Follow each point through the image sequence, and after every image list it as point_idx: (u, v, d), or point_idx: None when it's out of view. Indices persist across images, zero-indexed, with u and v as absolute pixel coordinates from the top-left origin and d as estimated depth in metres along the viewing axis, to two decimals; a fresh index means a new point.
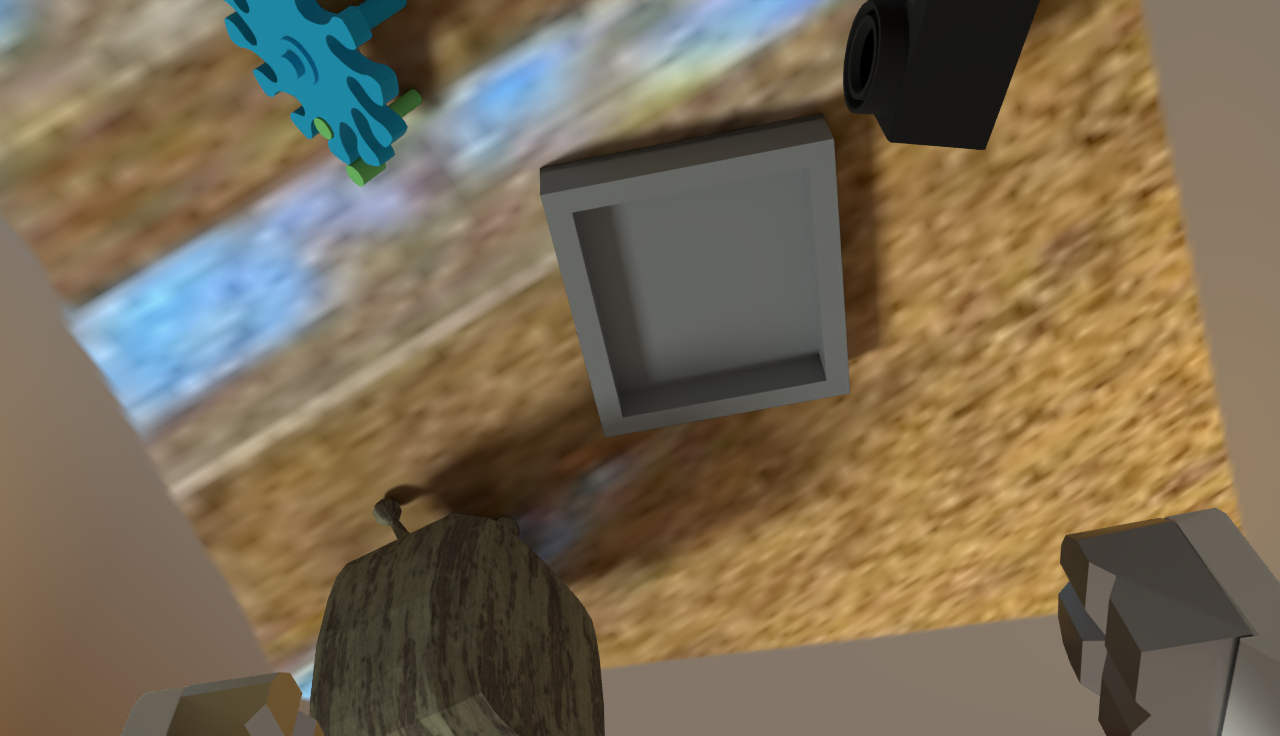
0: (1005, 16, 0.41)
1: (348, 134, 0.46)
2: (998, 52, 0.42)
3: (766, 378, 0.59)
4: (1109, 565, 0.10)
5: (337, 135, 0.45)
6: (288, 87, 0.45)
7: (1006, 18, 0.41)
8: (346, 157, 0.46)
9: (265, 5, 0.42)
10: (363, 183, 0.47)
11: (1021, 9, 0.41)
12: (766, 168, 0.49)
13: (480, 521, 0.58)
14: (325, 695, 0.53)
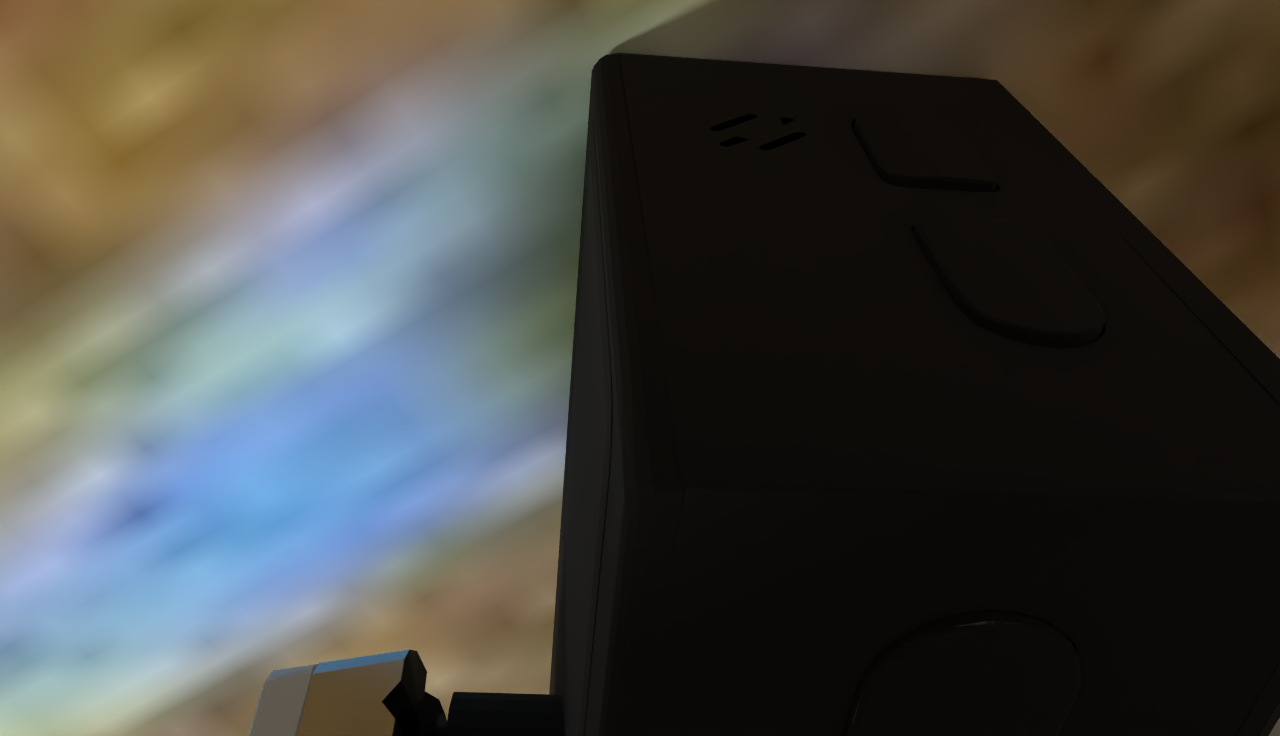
0: None
1: None
2: None
3: None
4: None
5: None
6: None
7: None
8: None
9: None
10: None
11: None
12: None
13: None
14: None
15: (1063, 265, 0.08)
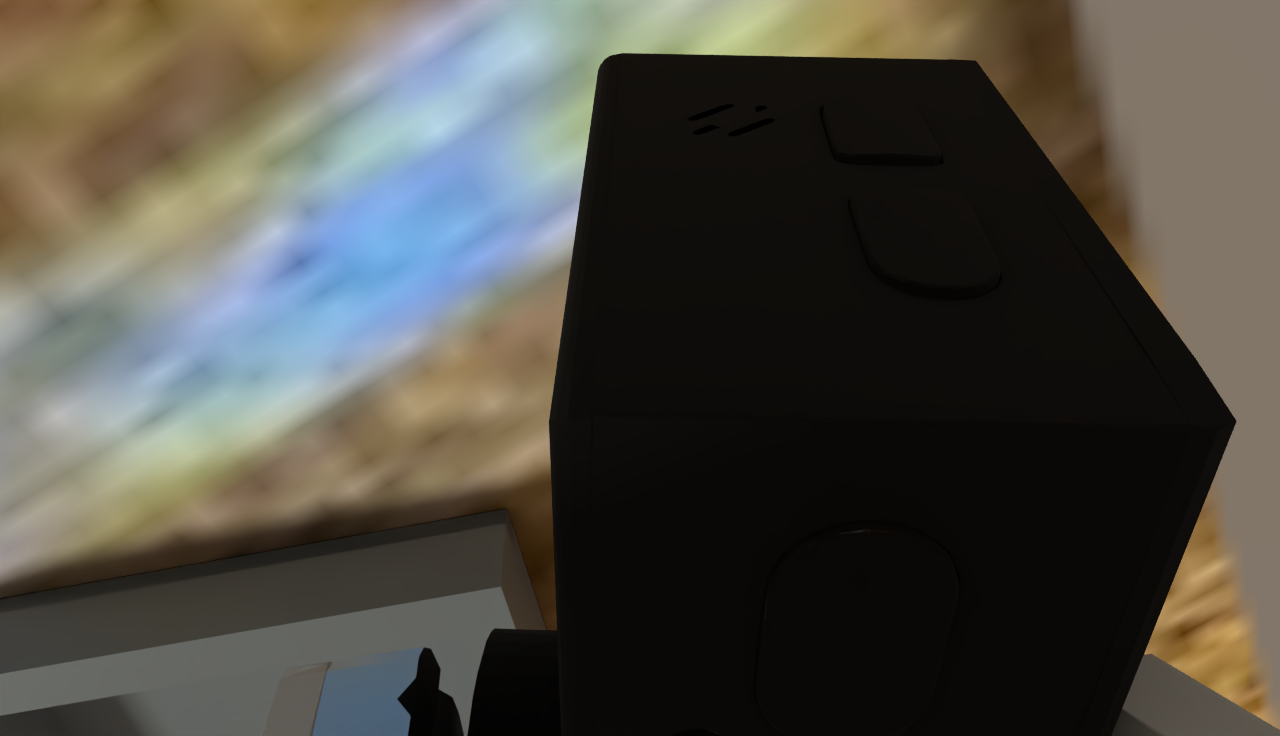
0: None
1: None
2: None
3: None
4: None
5: None
6: None
7: None
8: None
9: None
10: None
11: None
12: (367, 640, 0.23)
13: None
14: None
15: (977, 229, 0.09)
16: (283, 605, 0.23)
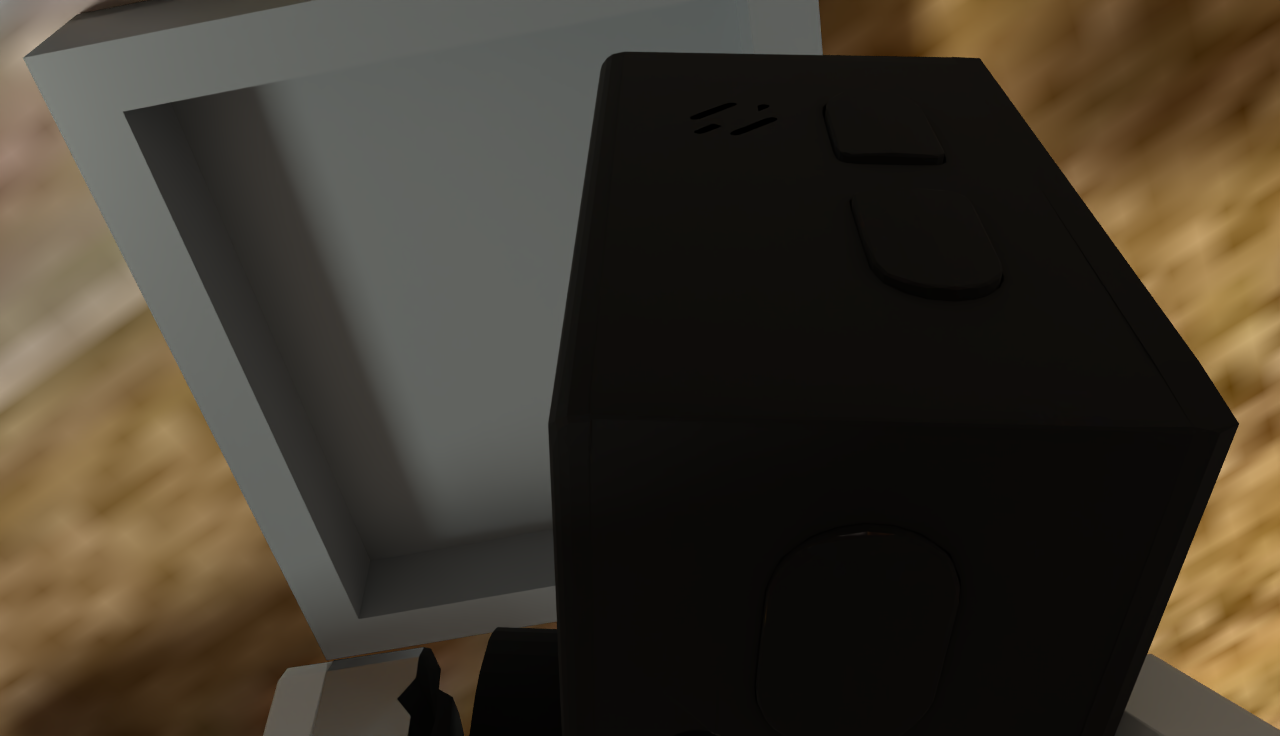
0: None
1: None
2: None
3: None
4: None
5: None
6: None
7: None
8: None
9: None
10: None
11: None
12: None
13: None
14: None
15: (979, 229, 0.09)
16: None
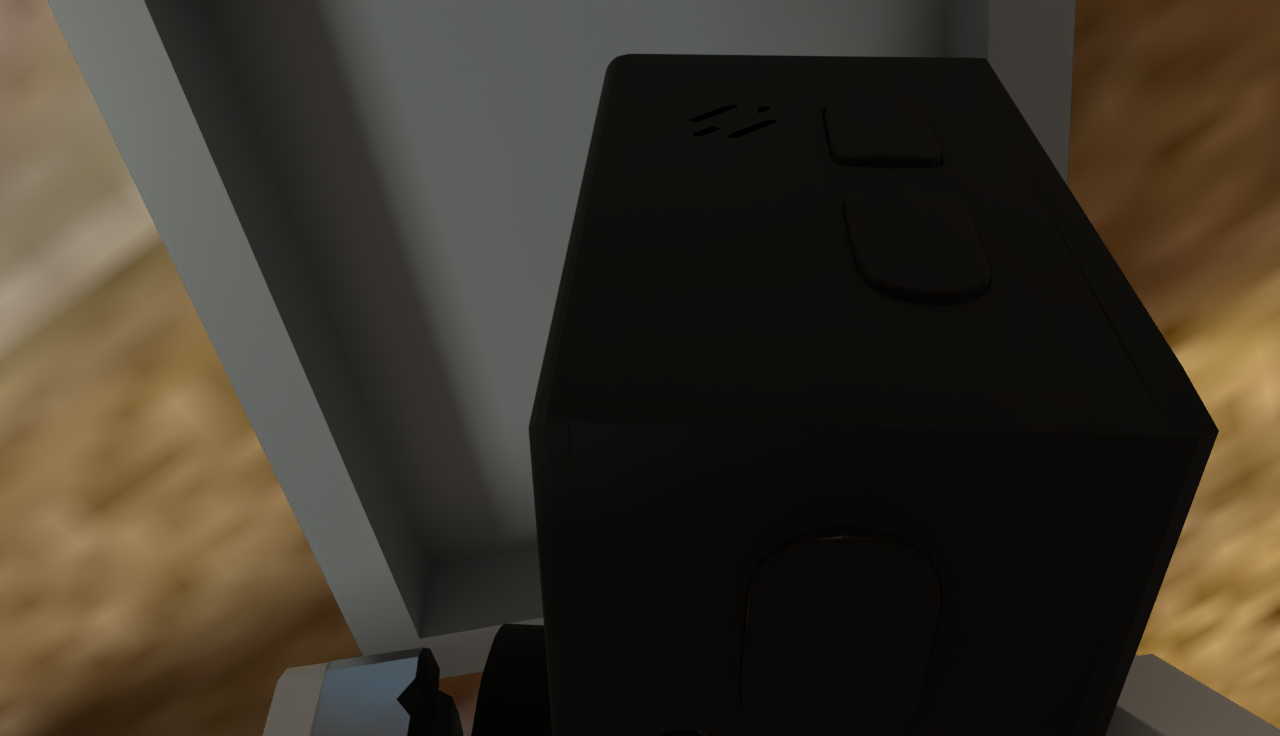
0: None
1: None
2: None
3: None
4: None
5: None
6: None
7: None
8: None
9: None
10: None
11: None
12: None
13: None
14: None
15: (970, 232, 0.09)
16: None
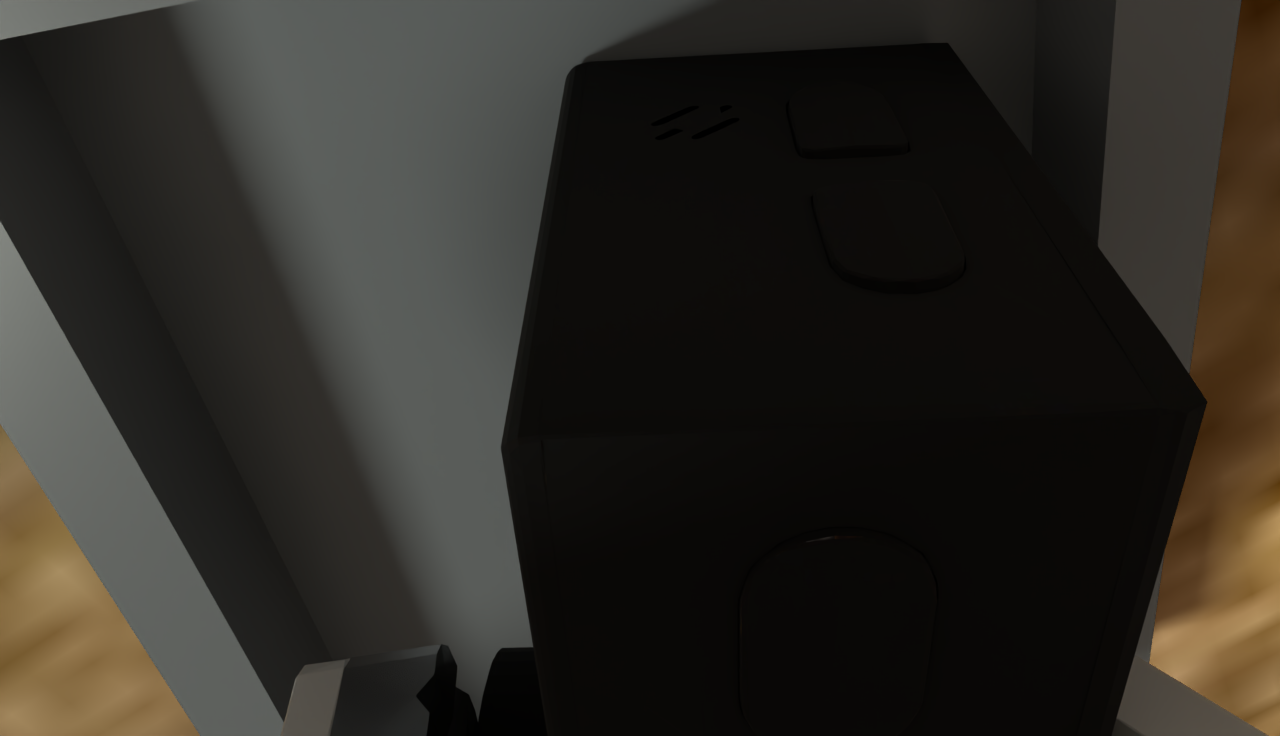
0: None
1: None
2: None
3: None
4: None
5: None
6: None
7: None
8: None
9: None
10: None
11: None
12: None
13: None
14: None
15: (941, 217, 0.08)
16: None
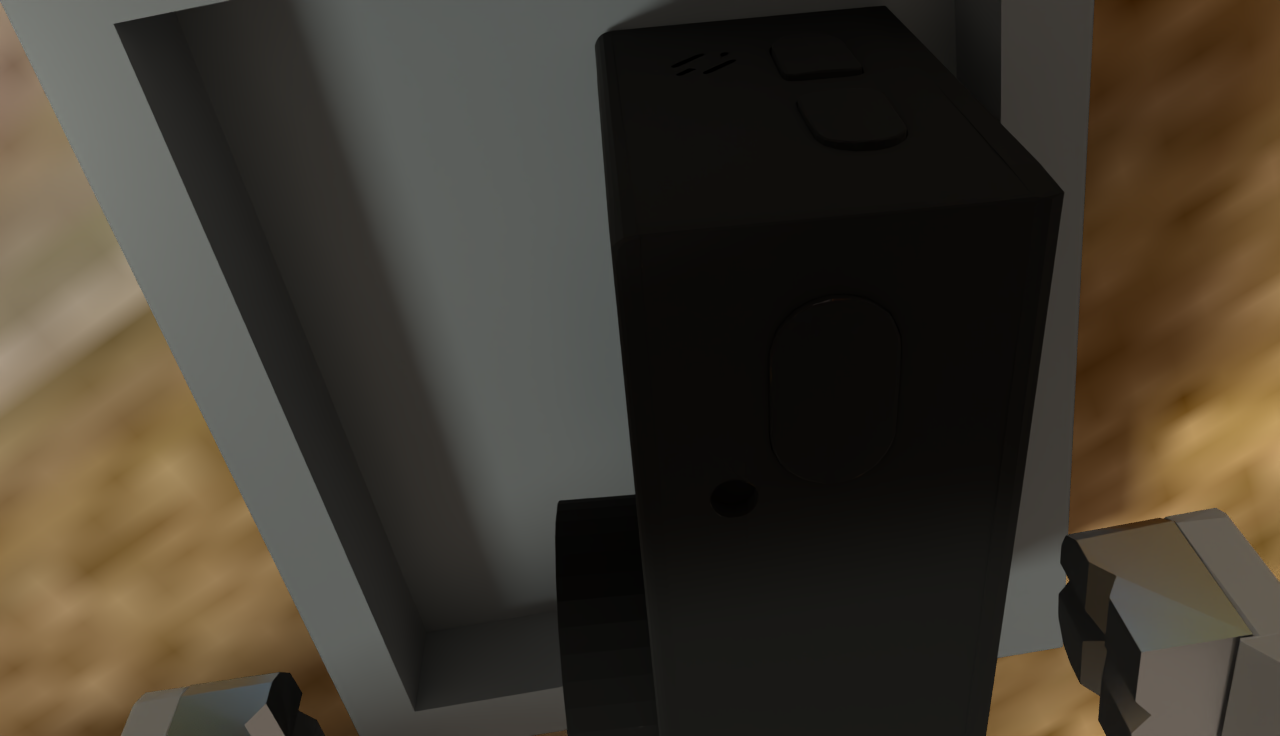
0: (913, 579, 0.13)
1: None
2: (925, 662, 0.13)
3: None
4: (1109, 564, 0.10)
5: None
6: None
7: (920, 583, 0.13)
8: None
9: None
10: None
11: (962, 554, 0.12)
12: None
13: None
14: None
15: (889, 107, 0.12)
16: None
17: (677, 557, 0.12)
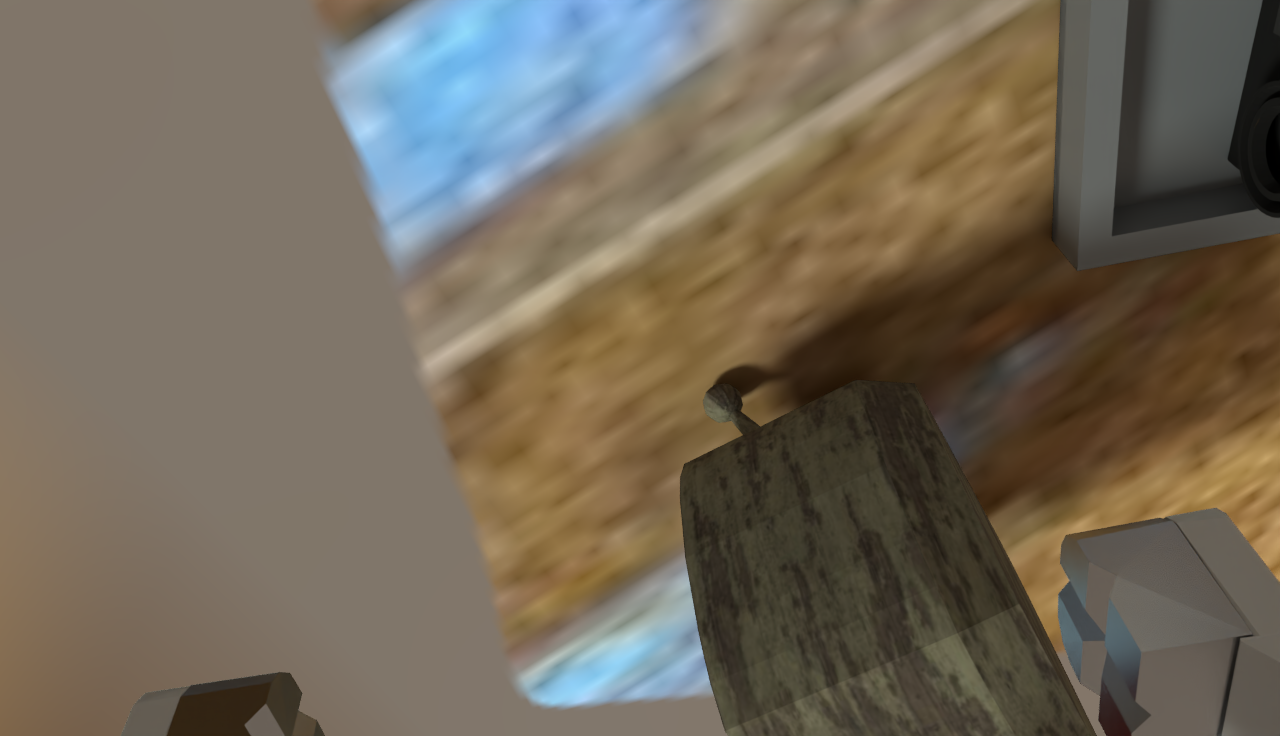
0: None
1: None
2: None
3: None
4: (1109, 564, 0.10)
5: None
6: None
7: None
8: None
9: None
10: None
11: None
12: None
13: (906, 386, 0.39)
14: (726, 624, 0.33)
15: None
16: None
17: None
